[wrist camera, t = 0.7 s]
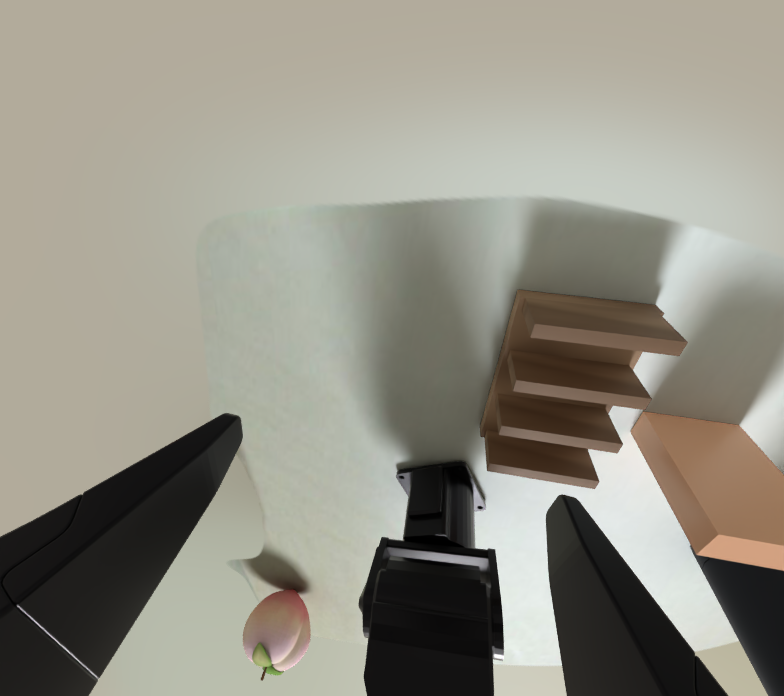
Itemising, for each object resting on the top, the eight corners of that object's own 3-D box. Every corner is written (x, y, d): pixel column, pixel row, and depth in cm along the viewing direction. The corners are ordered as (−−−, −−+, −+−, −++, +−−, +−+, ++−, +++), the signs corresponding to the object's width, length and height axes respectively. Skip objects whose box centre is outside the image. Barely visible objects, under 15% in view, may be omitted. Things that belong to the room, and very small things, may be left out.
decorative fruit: (253, 572, 50) (212, 662, 42) (302, 574, 48) (269, 670, 39) (282, 602, 55) (250, 688, 46) (328, 605, 52) (304, 696, 44)
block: (721, 445, 24) (826, 578, 17) (630, 431, 25) (696, 554, 18) (738, 425, 23) (859, 559, 16) (643, 411, 24) (718, 534, 17)
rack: (582, 442, 26) (599, 489, 23) (480, 426, 27) (482, 470, 24) (655, 304, 20) (694, 343, 16) (517, 289, 20) (528, 323, 17)
